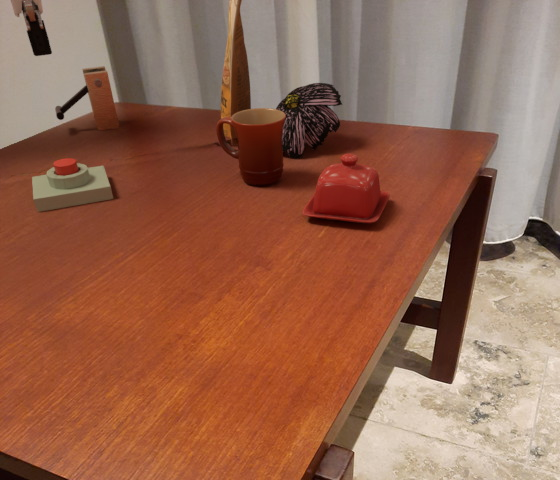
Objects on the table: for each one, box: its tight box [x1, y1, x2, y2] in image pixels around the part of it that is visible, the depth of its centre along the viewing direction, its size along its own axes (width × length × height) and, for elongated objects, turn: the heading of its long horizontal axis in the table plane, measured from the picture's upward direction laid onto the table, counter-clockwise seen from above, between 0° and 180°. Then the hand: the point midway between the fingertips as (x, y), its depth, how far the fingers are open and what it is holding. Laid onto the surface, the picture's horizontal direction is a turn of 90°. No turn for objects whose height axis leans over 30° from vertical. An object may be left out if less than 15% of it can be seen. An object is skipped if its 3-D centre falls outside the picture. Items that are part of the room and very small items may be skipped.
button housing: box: [31, 162, 114, 213], centre depth 92 cm, size 12×10×4 cm
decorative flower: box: [275, 82, 343, 160], centre depth 103 cm, size 14×12×15 cm
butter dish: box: [302, 153, 391, 224], centre depth 81 cm, size 12×12×8 cm
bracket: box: [81, 65, 120, 132], centre depth 113 cm, size 12×10×12 cm
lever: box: [54, 69, 99, 121], centre depth 111 cm, size 12×5×2 cm, turn 110°
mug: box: [215, 107, 286, 187], centre depth 92 cm, size 12×9×10 cm
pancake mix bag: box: [220, 0, 252, 147], centre depth 104 cm, size 7×19×28 cm, turn 179°
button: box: [53, 157, 79, 176], centre depth 90 cm, size 4×4×2 cm
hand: (42, 49), depth 105 cm, fingers open, 9 cm apart
